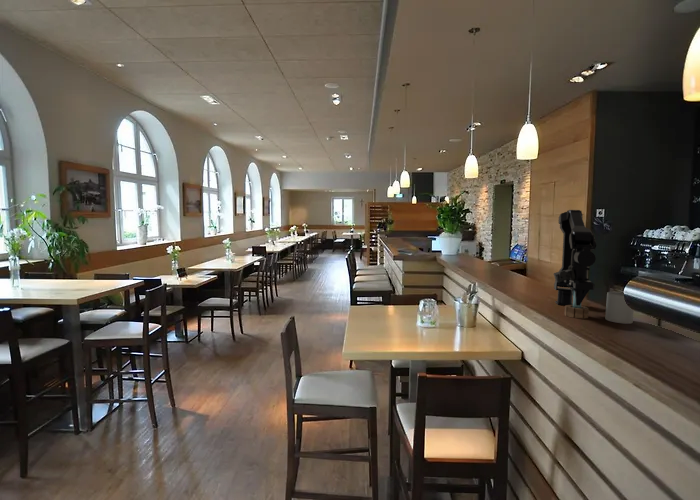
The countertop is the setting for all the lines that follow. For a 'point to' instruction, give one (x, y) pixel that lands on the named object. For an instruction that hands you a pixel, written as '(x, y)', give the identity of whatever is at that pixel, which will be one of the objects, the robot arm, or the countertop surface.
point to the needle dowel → (575, 302)
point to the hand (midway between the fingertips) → (576, 304)
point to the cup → (618, 308)
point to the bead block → (576, 312)
